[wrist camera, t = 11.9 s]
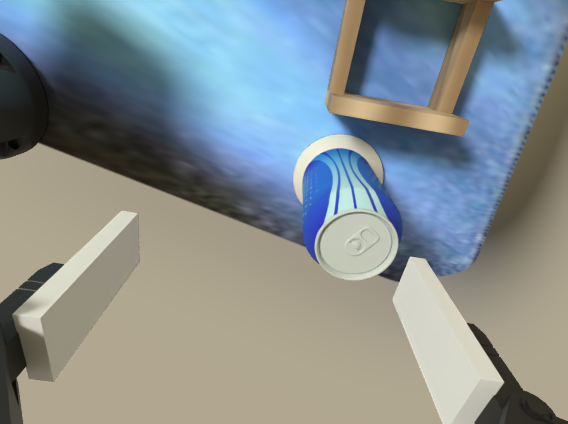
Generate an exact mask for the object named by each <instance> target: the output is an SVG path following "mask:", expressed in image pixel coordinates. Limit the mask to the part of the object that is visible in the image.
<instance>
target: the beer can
mask: <svg viewBox="0 0 568 424" xmlns="http://www.w3.org/2000/svg"><path fill="white" fill-rule="evenodd" d="M302 193H303V238H304V243H305V246H306V248H307V250H308V252H309V254H310V255H311V256H312V258H313V259H314V260H315V261H316V262H317V263H318V264H320V265H321V266H322V267H323V269H324V270H326V271H327V272H328V273H329V274H331V275H333V276H335V277H337V278H340V279H343V280H349V281H358V280H365V279H368V278H371V277H374V276H376V275H378V274H380V273H381V272H383V271H384V270H385V269H386V268H387V267H388V266H389V265H390V264H391V263H392V262H393V260H394V258H395V256H396V254H397V250H398V245H399V243H400V240H401V236H402V220H401V216H400V214H399V211H398V209H397V207H396V206H395V204H394V203H393V201H392V199H391V198H390V196H389V195H388V193H387V192H386V190H385V188H384V187H383V185H382V184H381V182H380V181H379V179H378V177H377V176H376V174H375V173H374V171H373V169H372V168H371V166H370V165H369V163H368V162H367V160H366V159H365V158H364V157H363V156H361V155H360V154H359V153H357V152H355V151H352V150H349V149H344V148H335V149H330V150H327V151H324V152H322V153H320V154H319V155H317V156H316V157H315V158H313V160H312V161H311V162H310V163H309V164H308V166H307V168H306V169H305V172H304V175H303V181H302Z"/></svg>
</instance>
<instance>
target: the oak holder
mask: <svg viewBox="0 0 568 424" xmlns="http://www.w3.org/2000/svg"><path fill="white" fill-rule="evenodd" d="M365 1H366V0H346V3H345V8H344V12H343V17H342V22H341V27H340V31H339V36H338V41H337V46H336V51H335V55H334V60H333V65H332V70H331V75H330V79H329V84H328V89H327V94H326V98H325V105H326V107H327V109H328V111H329V113H333V114H339V115H345V116H350V117H356V118H362V119H367V120H373V121H378V122H384V123H390V124H395V125H401V126H407V127H412V128H418V129H423V130H429V131H435V132H440V133H446V134H451V135H457V136H464V134H465V131H466V129H467V126H468V124H469V120H466V119H464V118H461V117H459V116H456V115H453V114H452V112H453V109H454V107H455V104H456V101H457V99H458V96H459V94H460V91H461V88H462V86H463V83H464V80H465V78H466V75H467V72H468V70H469V67H470V64H471V62H472V59H473V56H474V54H475V51H476V48H477V46H478V43H479V40H480V38H481V35H482V33H483V30H484V27H485V25H486V22H487V19H488V17H489V14H490V11H491V9H492V6H493V3H494V2H497V1H501V0H444V1H449V2H455V3H460V4H463V6H462V9H461V12H460V15H459V18H458V21H457V24H456V26H455V29H454V32H453V35H452V38H451V41H450V44H449V47H448V50H447V53H446V56H445V59H444V61H443V64H442V67H441V70H440V73H439V76H438V79H437V82H436V85H435V88H434V91H433V94H432V96H431V99H430V102H429V105H428V107H423V106H418V105H412V104H407V103H401V102H395V101H390V100H384V99H379V98H373V97H368V96H362V95H357V94H351V93H345V92H344V91H345V87H346V83H347V78H348V74H349V70H350V66H351V61H352V57H353V53H354V48H355V44H356V40H357V35H358V31H359V27H360V22H361V18H362V14H363V9H364V5H365Z"/></svg>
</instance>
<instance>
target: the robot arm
mask: <svg viewBox="0 0 568 424" xmlns="http://www.w3.org/2000/svg"><path fill="white" fill-rule="evenodd" d="M47 120H48V106H47V100H46V96H45V92H44V89H43V86H42V84H41V81H40V79H39V77H38V75H37V73H36V72H35V70H34V68H33V67H32V65H31V64H30V62H29V61H28V60H27V58H26V57H25V56H24V55H23V53H22V52H21V51H20V50H19V49H18V48H17V47H16V46H15V45H14V44H13V43H12V42H10V41H9V40H8V39H7V38H6V37H4V36H3V35H1V34H0V159H6V158H9V157H13V156H16V155H18V154H21V153H24V152H26V151H28V150H30V149H32V148H33V147H34V146H35V145H36V144H37V143H38V142H39V141H40V139H41V138H42V136H43V134H44V132H45V129H46V126H47ZM139 259H140V258H139V224H138V213H134V212H128V211H120V212H119V213H118V214H117V215H116V216H115V217H114V218H113V219H112V220H111V221H110V222H109V223H108V224H107V225H106V226H105V227H104V228H103V229H101V230H100V231H99V232H98V233H97V234H96V235H95V236H94V237H93V238H92V239H91V240H90V241H89V242H88V243H87V244H86V245H85V246H84V247H83V248H81V249H80V251H78V252H77V253H76V254H75V255H74V256H73V257H72V258H71V259H70V260H69V261H68V262H67V263H66V264H59V263H52V264H50V265H48V266H46V267H44V268H42V269H40V270H38V271H37V272H36V273H35V274H34V275H32V276H31V277H30V278H29V279H28V281H27V282H25V283H23V284H22V285H21V286H20V287H19V289H16V290H15V291H14V292H13V293H12V294H11V295H9V297H7V298H6V299H5V300H4V301H3V302H1V304H0V424H23V420H22V411H21V404H20V395H19V388H18V382H17V376H18V375H19V374H20V373H21V372H22V371H23V369H24V368H25V367H26V369H27V373H28V377H29V379H35V380H43V381H51V382H54V381H55V379H56V378H57V377H58V375H59V373H60V372H61V371H62V370H63V368H64V367H65V365H66V364H67V363H68V361H69V360H70V358H71V357H72V356H73V354H74V353H75V351H76V350H77V349H78V347H79V346H80V344H81V343H82V342H83V340H84V339H85V337H86V336H87V334H88V333H89V332H90V330H91V329H92V328H93V326H94V325H95V323H96V322H97V320H98V319H99V318H100V316H101V315H102V313H103V312H104V311H105V309H106V308H107V307H108V305H109V304H110V302H111V301H112V299H113V298H114V297H115V295H116V294H117V292H118V291H119V290H120V288H121V287H122V285H123V284H124V283H125V281H126V280H127V278H128V277H129V276H130V274H131V273H132V271H133V270H134V268H135V267H136V266H137V264H138V263H139V261H140V260H139ZM392 300H393V303H394V305H395V308H396V310H397V313H398V315H399V317H400V320H401V322H402V325H403V327H404V330H405V332H406V335H407V337H408V340H409V342H410V345H411V347H412V350H413V352H414V354H415V357H416V359H417V362H418V364H419V367H420V369H421V372H422V374H423V377H424V379H425V381H426V384H427V387H428V389H429V391H430V394H431V396H432V399H433V401H434V404H435V406H436V408H437V411H438V414H439V416H440V419H441V421H442V423H443V424H568V421H566V420H563V419H560V418H558V417H556V416H555V414H554V412H553V411H552V409H551V408H549V406H548V405H547V404H546V403H545V402H543V401H542V400H541V399H539V398H538V397H537V396H535V395H533V394H531V393H529V392H527V391H523V389H522V388H521V387H520V385H519V383H518V382H517V381H516V379H515V378H514V376H513V375H512V373H511V372H510V371H509V369H508V367H507V366H506V364H505V363H504V362H503V360H502V359H501V357H499V354H498V353H497V351H496V350H495V348H493V345H492V344H491V342H490V341H489V340H488V338H487V337H486V335H485V334H484V333H483V332H482V331H480V329H478V328H477V327H476V326H475V325H474V324H469V323H466V322H465V320H464V319H463V317H462V316H461V314H460V312H459V311H458V309H457V308H456V306H455V305H454V303H453V302H452V300H451V298H450V297H449V295H448V294H447V293H446V291H445V289H444V287H443V286H442V284H441V283H440V281H439V280H438V278H437V277H436V275H435V273H434V272H433V270H432V269H431V267H430V266H429V264H428V263H427V261H426V259H423V258H416V257H410V258H409V260H408V263H407V265H406V268H405V270H404V272H403V275H402V277H401V280H400V282H399V285H398V287H397V289H396V292H395V294H394V296H393V299H392Z"/></svg>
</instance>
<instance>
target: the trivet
mask: <svg viewBox="0 0 568 424" xmlns="http://www.w3.org/2000/svg"><path fill="white" fill-rule="evenodd" d="M335 148H344V149H349V150H352V151H355V152H357V153H359V154H360V155H361V156H363V157H364V158H365V159H366V160H367V162H368V163H369V165H370V166H371V168H372V169H373V171H374V173H375V174H376V176H377V177H378V179H379V181H380V182H381V184H382V183H383V167H382V163H381V160H380V158H379V156H378V155H377V153H376V152H375V150H374V149H373V148H372V147H371V146H370V145H369V144H368V143H366V142H365V141H364V140H362V139H360V138H358V137H355V136H352V135H347V134H333V135H328V136H325V137H322V138H320V139H318V140H316V141H314V142H313V143H312V144H310V145H309V146H308V147H307V148H306V149H305V150H304V151H303V152H302V154H301V155H300V157H299V158H298V160H297V163H296V165H295V169H294V175H293V184H294V189H295V192H296V195H297V197H298V199H299V201H300V202H301V203H302V205H303V193H302V181H303V175H304V172H305V169H306V168H307V166H308V164H309V163H310V162H311V161H312V160H313V158H315V157H316V156H317V155H319V154H320V153H322V152H324V151H327V150H330V149H335Z"/></svg>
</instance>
